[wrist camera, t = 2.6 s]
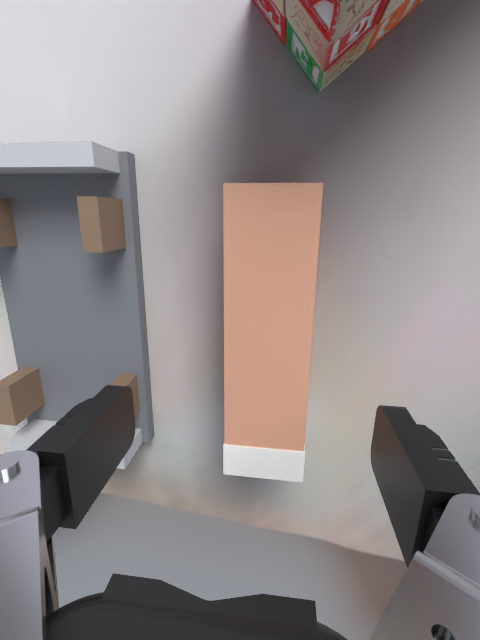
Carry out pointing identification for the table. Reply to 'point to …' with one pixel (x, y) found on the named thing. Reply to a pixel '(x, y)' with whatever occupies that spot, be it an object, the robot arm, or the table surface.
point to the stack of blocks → (331, 31)
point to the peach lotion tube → (268, 324)
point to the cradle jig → (71, 284)
